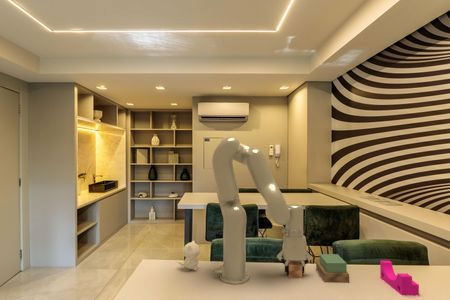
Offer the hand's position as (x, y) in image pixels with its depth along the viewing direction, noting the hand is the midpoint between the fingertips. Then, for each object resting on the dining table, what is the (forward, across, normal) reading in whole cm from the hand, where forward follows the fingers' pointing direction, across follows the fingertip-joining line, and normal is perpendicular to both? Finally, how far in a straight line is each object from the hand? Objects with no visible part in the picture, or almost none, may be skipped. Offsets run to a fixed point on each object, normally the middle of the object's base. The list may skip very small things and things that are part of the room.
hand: (294, 273), depth 121 cm
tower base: (+1, +16, 0) cm, 16 cm away
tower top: (-3, +16, 0) cm, 17 cm away
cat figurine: (+1, -47, +4) cm, 48 cm away
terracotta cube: (+1, 0, 0) cm, 1 cm away
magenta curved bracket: (+1, +40, -8) cm, 40 cm away
